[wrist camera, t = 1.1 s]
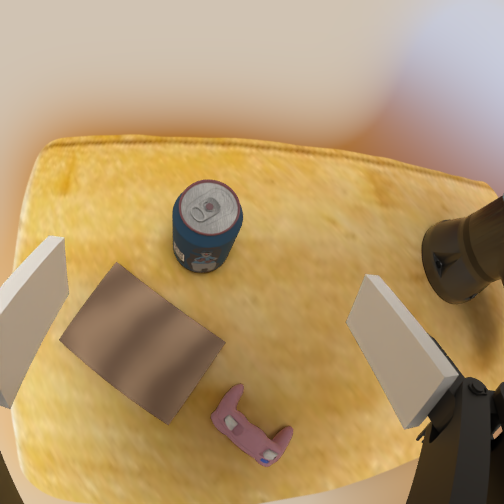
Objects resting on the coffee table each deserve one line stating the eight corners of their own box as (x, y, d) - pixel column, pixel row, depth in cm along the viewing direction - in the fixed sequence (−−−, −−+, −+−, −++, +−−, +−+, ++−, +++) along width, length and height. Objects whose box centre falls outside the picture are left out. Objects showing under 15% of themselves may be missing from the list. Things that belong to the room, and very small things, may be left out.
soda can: (207, 214, 42) (218, 163, 31) (238, 256, 41) (261, 216, 30) (162, 241, 39) (158, 195, 28) (193, 286, 38) (200, 255, 27)
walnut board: (224, 342, 37) (225, 342, 36) (168, 422, 32) (168, 425, 31) (118, 265, 37) (116, 261, 36) (63, 340, 32) (58, 339, 31)
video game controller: (213, 399, 36) (199, 427, 29) (239, 377, 36) (229, 403, 29) (270, 447, 35) (266, 479, 28) (296, 427, 35) (297, 459, 28)
